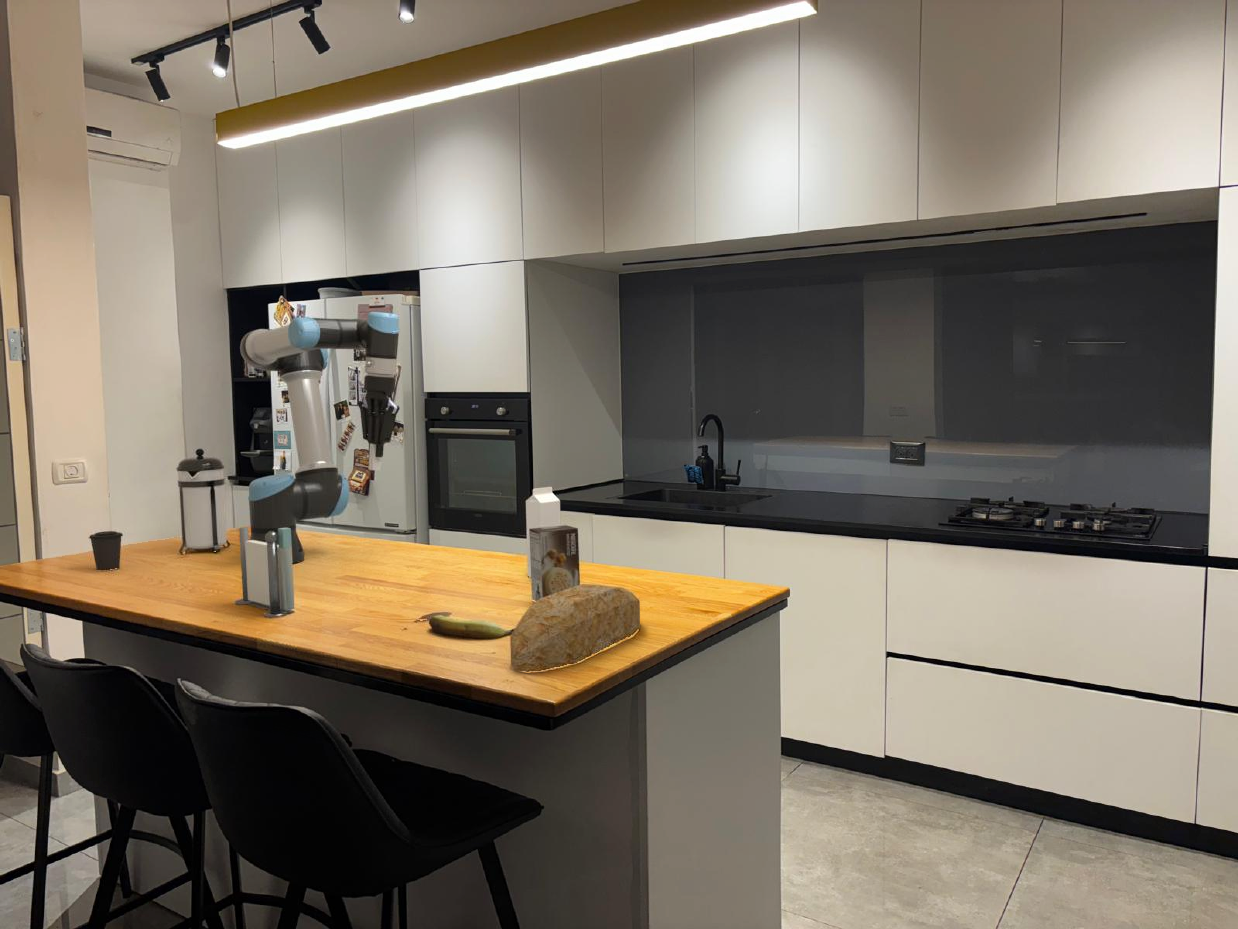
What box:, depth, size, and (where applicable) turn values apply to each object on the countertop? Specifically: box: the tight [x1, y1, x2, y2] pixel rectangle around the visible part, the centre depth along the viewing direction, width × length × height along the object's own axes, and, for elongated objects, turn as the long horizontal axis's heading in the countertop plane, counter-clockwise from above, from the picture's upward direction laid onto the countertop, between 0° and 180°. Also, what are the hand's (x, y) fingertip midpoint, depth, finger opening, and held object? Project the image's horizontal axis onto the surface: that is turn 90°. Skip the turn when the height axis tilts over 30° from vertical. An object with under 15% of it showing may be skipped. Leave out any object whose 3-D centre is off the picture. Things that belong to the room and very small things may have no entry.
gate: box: [238, 526, 296, 610], centre depth 203 cm, size 19×2×17 cm, turn 49°
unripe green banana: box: [402, 611, 516, 655], centre depth 180 cm, size 35×27×4 cm
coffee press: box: [175, 448, 231, 554], centre depth 278 cm, size 17×16×30 cm
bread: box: [509, 583, 641, 672], centre depth 170 cm, size 36×11×10 cm, turn 149°
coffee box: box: [529, 524, 581, 601], centre depth 205 cm, size 9×6×16 cm
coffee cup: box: [88, 530, 124, 571], centre depth 251 cm, size 8×8×10 cm
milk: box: [525, 486, 561, 578], centre depth 231 cm, size 6×6×22 cm
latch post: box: [263, 531, 288, 618], centre depth 197 cm, size 4×4×18 cm
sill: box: [234, 598, 295, 615], centre depth 205 cm, size 20×5×1 cm, turn 50°
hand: (374, 469), depth 238 cm, fingers closed
